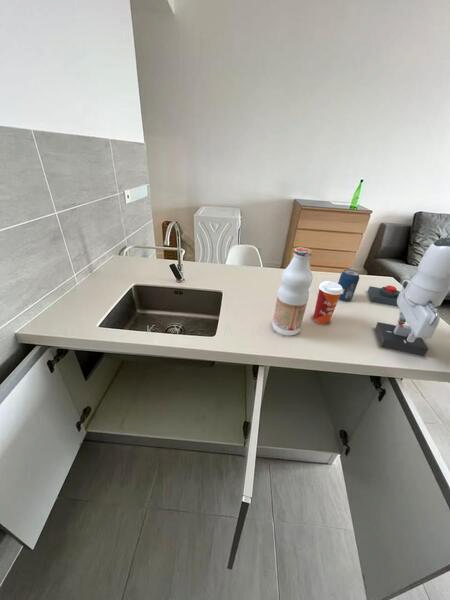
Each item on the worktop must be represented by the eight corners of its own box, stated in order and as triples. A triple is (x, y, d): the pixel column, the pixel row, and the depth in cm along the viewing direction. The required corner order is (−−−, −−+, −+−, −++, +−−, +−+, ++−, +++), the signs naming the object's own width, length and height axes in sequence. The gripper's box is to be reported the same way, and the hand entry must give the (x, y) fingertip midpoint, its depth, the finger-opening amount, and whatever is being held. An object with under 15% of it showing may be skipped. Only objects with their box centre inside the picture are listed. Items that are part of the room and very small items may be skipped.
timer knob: (408, 334, 78) (413, 326, 77) (410, 337, 77) (415, 329, 75) (393, 331, 80) (397, 323, 78) (394, 334, 78) (398, 325, 76)
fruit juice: (273, 335, 80) (289, 254, 65) (270, 318, 88) (284, 243, 73) (302, 337, 79) (324, 256, 65) (296, 320, 87) (315, 245, 73)
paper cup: (320, 327, 85) (331, 292, 77) (306, 315, 90) (315, 282, 83) (337, 322, 87) (349, 288, 80) (322, 311, 93) (332, 279, 86)
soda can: (339, 292, 107) (348, 267, 101) (354, 299, 103) (364, 273, 96) (330, 296, 104) (338, 270, 97) (345, 304, 99) (355, 277, 93)
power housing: (399, 296, 106) (404, 287, 104) (406, 308, 98) (411, 299, 96) (367, 291, 109) (371, 282, 107) (371, 302, 101) (375, 292, 99)
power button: (393, 289, 103) (395, 286, 102) (395, 293, 100) (397, 290, 99) (384, 288, 104) (385, 284, 103) (386, 292, 101) (387, 288, 100)
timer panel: (413, 336, 83) (417, 329, 81) (424, 356, 74) (429, 348, 73) (374, 328, 85) (378, 321, 84) (380, 347, 77) (384, 339, 76)
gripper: (454, 315, 61) (428, 355, 68) (424, 281, 78) (406, 316, 85) (425, 310, 63) (402, 350, 70) (402, 277, 79) (386, 312, 87)
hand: (404, 331), depth 78 cm, fingers open, 8 cm apart
